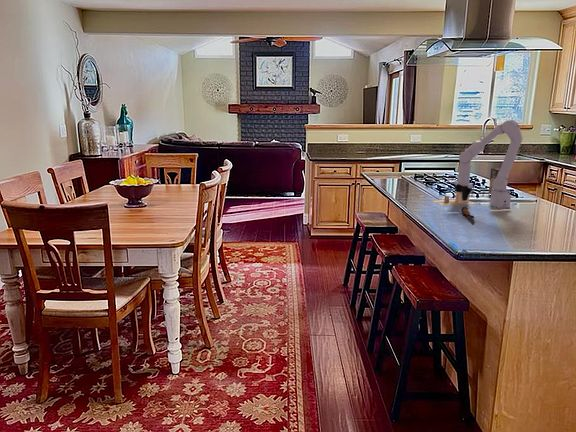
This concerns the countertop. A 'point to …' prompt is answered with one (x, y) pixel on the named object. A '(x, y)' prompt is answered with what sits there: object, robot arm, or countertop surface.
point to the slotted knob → (460, 198)
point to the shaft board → (451, 202)
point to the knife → (468, 215)
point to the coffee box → (493, 177)
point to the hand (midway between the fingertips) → (462, 199)
